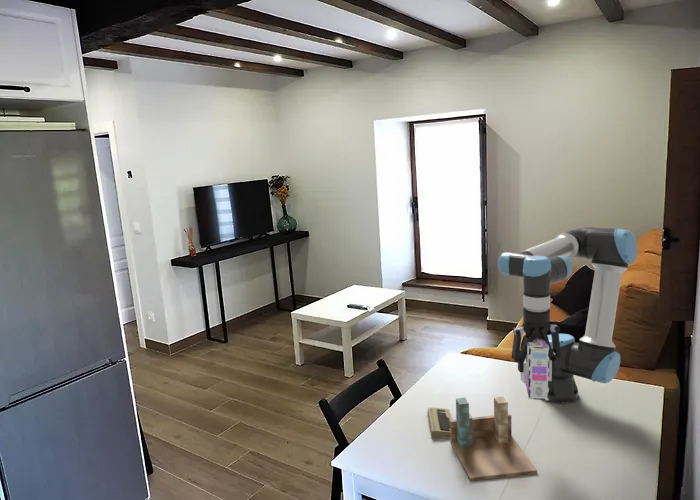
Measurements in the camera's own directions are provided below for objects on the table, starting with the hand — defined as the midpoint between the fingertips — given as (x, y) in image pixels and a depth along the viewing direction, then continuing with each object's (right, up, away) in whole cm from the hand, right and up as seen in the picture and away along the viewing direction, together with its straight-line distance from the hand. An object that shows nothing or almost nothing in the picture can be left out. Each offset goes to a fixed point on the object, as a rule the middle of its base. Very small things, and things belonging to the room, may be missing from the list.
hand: (535, 380), depth 153 cm
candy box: (0, -3, +1) cm, 3 cm away
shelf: (-13, -24, +2) cm, 28 cm away
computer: (-25, -22, +22) cm, 40 cm away
